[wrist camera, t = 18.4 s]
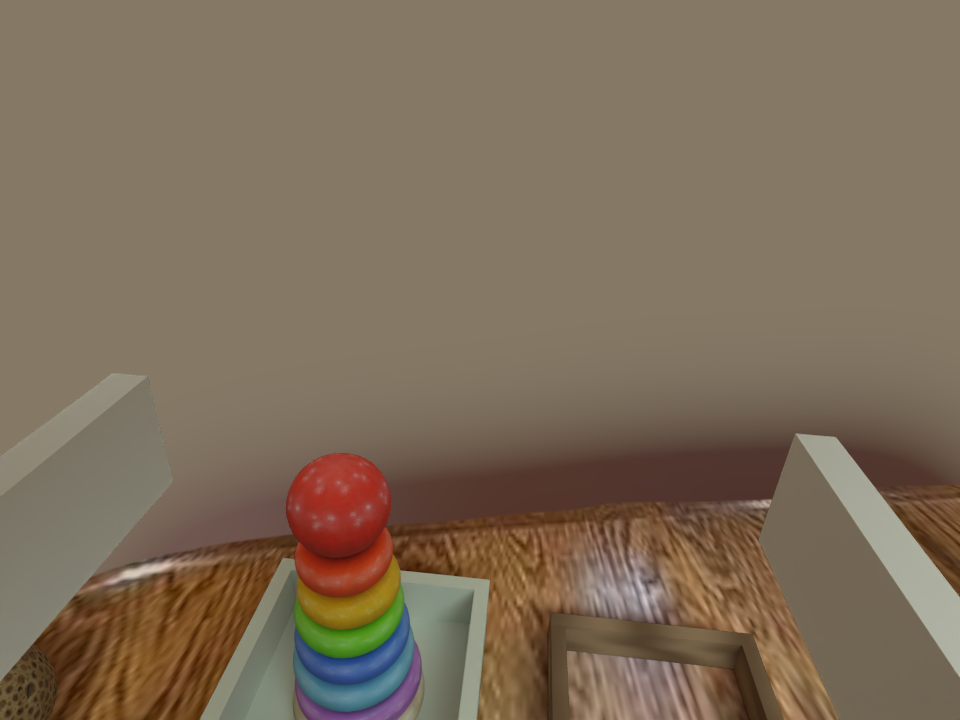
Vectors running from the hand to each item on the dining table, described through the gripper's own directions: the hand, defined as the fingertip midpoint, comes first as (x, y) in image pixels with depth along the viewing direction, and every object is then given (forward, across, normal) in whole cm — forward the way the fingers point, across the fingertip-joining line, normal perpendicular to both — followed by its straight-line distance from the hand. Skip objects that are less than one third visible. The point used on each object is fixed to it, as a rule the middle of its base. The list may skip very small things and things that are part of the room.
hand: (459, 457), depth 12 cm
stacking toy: (+13, -7, -29) cm, 33 cm away
